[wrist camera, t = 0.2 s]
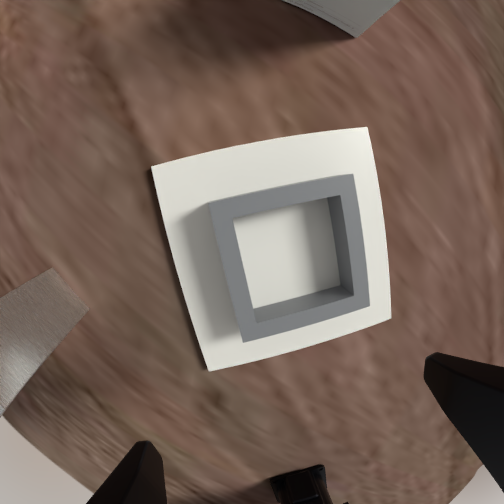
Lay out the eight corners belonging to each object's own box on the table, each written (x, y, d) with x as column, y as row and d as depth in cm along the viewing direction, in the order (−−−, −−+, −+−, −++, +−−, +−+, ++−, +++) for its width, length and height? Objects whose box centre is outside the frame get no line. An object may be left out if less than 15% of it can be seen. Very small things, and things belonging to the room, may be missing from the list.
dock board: (384, 313, 25) (406, 330, 21) (208, 363, 24) (209, 389, 20) (360, 129, 21) (383, 121, 18) (154, 167, 20) (142, 163, 17)
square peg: (90, 308, 21) (4, 410, 8) (63, 339, 21) (-14, 437, 8) (52, 267, 20) (-57, 336, 7) (28, 301, 20) (-67, 376, 7)
